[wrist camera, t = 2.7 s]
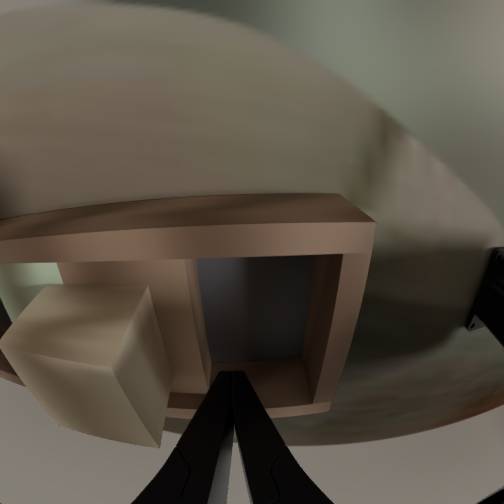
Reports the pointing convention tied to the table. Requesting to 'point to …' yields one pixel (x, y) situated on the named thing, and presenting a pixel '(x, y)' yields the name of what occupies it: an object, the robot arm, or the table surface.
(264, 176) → the table surface
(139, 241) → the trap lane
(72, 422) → the block
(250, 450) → the robot arm
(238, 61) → the table surface
